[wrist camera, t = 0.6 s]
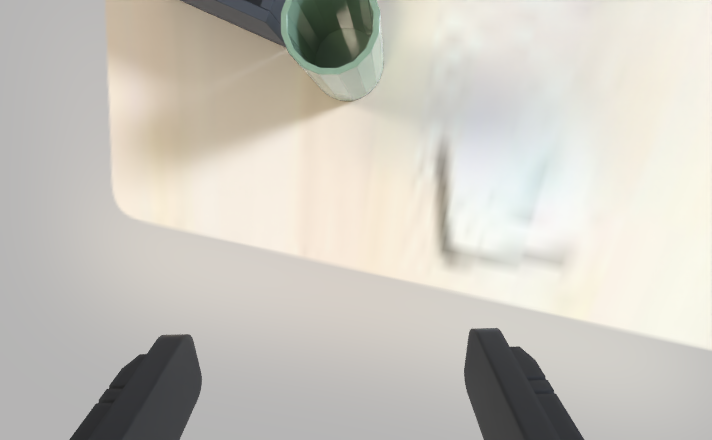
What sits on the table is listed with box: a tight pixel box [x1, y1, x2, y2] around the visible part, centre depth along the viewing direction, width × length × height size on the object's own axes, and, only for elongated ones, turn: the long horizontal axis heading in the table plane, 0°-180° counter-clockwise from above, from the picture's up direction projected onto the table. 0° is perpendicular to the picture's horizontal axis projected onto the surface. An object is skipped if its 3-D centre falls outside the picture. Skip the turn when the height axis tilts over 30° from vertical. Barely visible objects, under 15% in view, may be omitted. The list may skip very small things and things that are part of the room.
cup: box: [281, 0, 384, 101], centre depth 27 cm, size 6×6×9 cm
